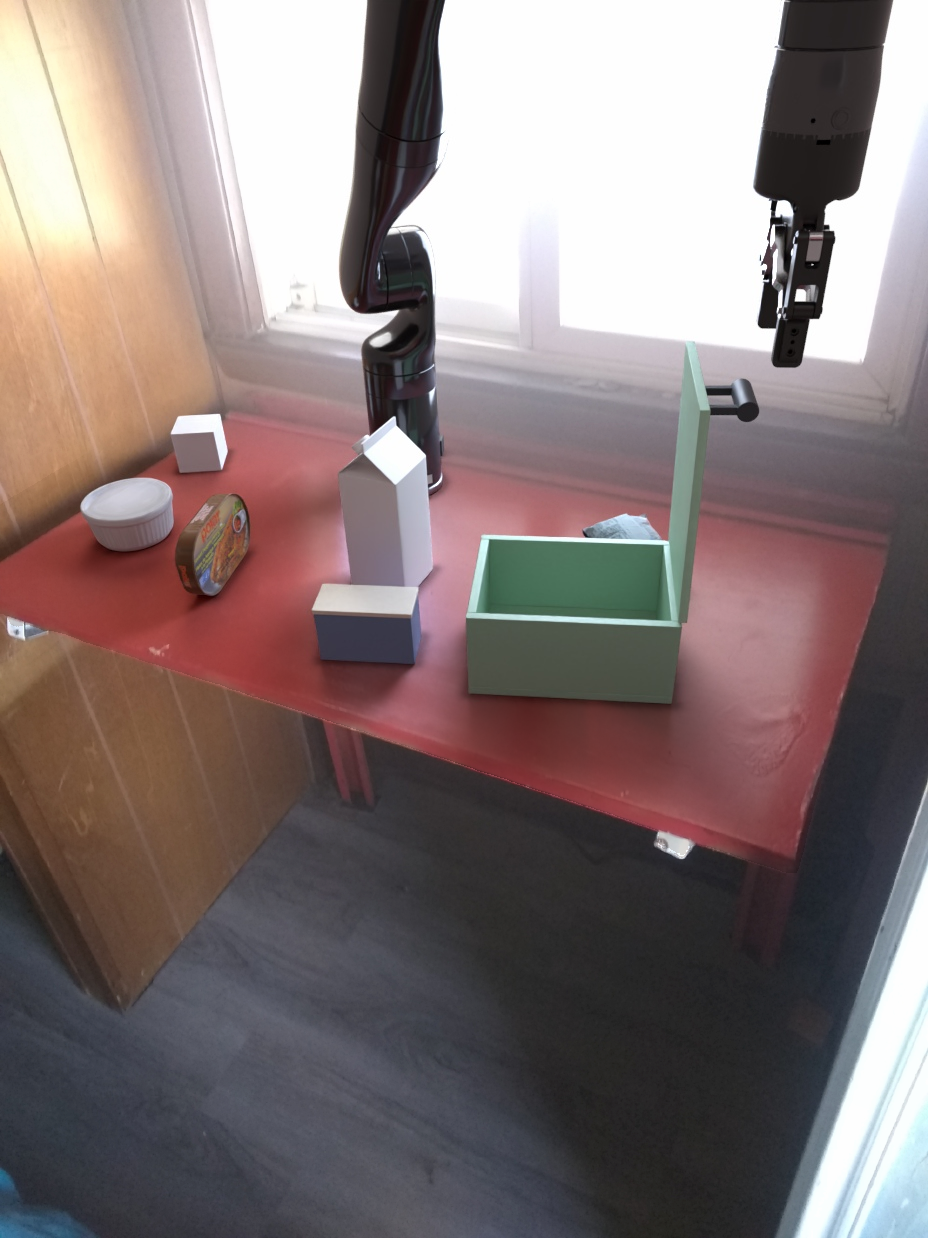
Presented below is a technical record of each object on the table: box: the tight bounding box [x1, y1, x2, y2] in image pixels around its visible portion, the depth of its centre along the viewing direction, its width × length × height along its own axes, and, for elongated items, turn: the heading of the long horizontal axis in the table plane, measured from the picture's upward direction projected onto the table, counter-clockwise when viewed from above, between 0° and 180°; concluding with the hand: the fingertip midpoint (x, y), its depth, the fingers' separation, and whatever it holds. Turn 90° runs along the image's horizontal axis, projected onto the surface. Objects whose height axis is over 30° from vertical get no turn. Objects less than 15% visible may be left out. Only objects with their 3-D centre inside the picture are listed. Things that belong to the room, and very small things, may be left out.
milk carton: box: [337, 417, 434, 588], centre depth 102 cm, size 7×7×19 cm
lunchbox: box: [465, 534, 683, 705], centre depth 93 cm, size 20×15×9 cm
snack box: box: [311, 583, 422, 665], centre depth 96 cm, size 5×10×6 cm, turn 83°
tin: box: [174, 492, 252, 597], centre depth 108 cm, size 15×3×8 cm, turn 168°
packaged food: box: [581, 512, 665, 541], centre depth 107 cm, size 9×12×5 cm
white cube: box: [170, 413, 229, 474], centre depth 132 cm, size 6×6×6 cm
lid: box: [667, 340, 760, 624], centre depth 83 cm, size 21×15×5 cm
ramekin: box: [79, 477, 175, 552], centre depth 117 cm, size 11×11×5 cm
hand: (777, 345), depth 74 cm, fingers open, 8 cm apart
